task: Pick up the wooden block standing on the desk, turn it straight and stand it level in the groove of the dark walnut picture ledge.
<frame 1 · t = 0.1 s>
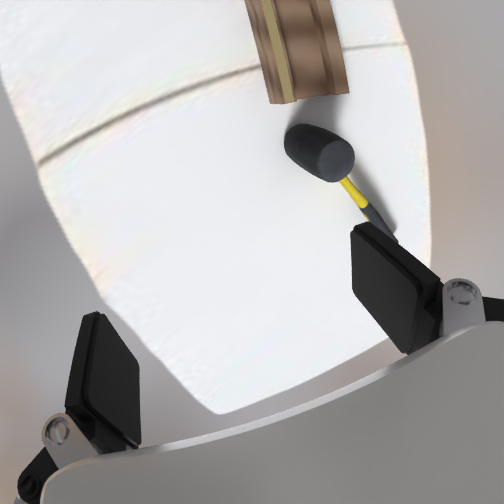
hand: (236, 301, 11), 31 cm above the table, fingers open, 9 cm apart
picture ledge: (289, 29, 32), on the table
mallet: (347, 191, 46), on the table
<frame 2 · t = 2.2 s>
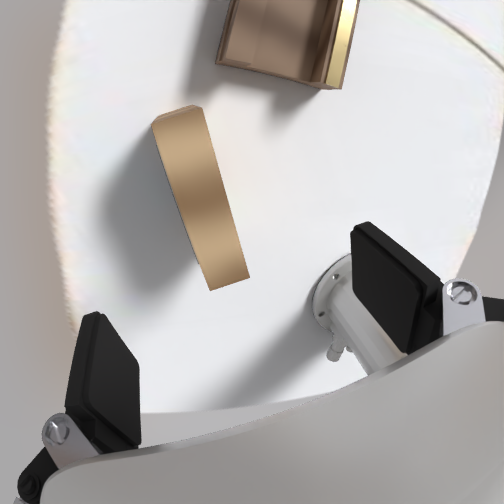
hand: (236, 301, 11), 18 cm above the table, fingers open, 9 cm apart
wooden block: (194, 173, 26), on the table
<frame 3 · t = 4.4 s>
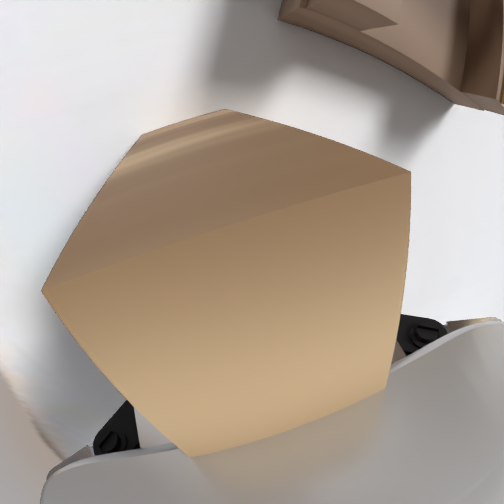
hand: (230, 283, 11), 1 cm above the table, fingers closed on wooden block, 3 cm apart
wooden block: (226, 262, 13), on the table, touching gripper
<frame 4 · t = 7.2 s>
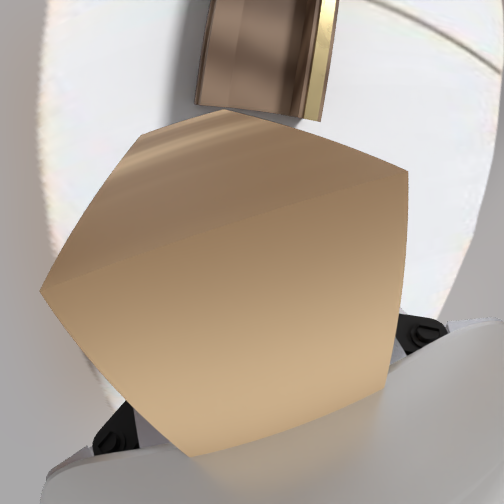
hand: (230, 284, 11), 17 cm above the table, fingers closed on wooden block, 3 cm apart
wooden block: (225, 262, 13), point 16 cm above the table, touching gripper
picture ledge: (267, 8, 20), on the table
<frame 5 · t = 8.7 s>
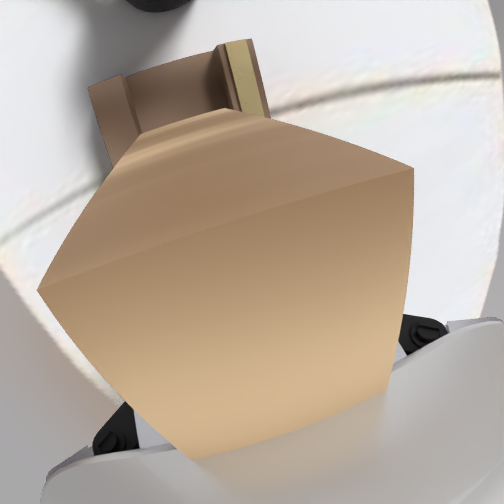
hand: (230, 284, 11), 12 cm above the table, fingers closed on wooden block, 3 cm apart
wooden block: (225, 262, 13), point 11 cm above the table, touching gripper
picture ledge: (207, 195, 22), on the table
when the fingers open (5 cm above the table, at t = 10.1 s): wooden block drops 1 cm, resting on picture ledge.
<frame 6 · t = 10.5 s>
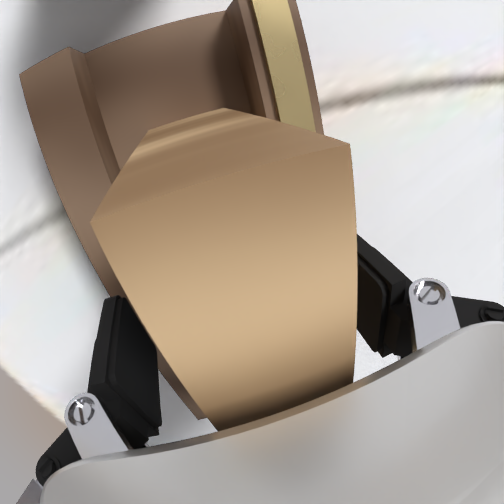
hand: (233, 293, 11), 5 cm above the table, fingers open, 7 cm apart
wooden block: (224, 248, 14), point 2 cm above the table, touching picture ledge
picture ledge: (212, 231, 15), on the table
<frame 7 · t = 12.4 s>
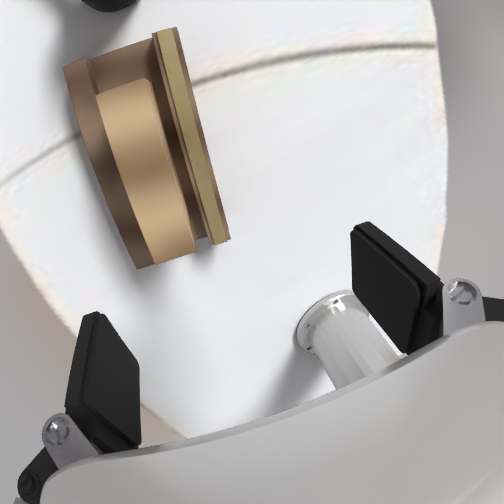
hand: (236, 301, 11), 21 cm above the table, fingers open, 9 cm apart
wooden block: (152, 150, 25), point 2 cm above the table, touching picture ledge
picture ledge: (150, 146, 26), on the table
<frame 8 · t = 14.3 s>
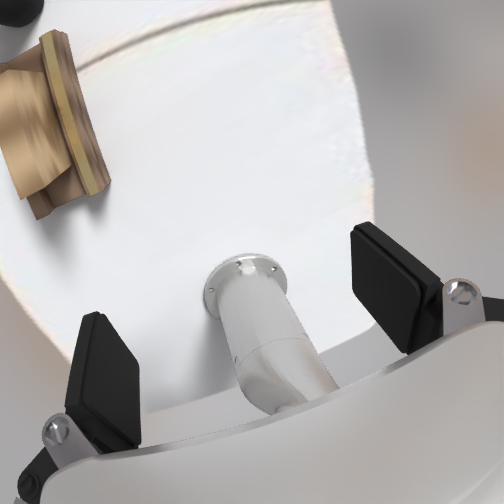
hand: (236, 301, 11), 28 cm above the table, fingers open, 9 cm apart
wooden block: (46, 123, 26), point 2 cm above the table, touching picture ledge
picture ledge: (50, 122, 28), on the table
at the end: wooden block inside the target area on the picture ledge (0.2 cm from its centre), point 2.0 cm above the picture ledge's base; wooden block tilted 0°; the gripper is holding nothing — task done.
